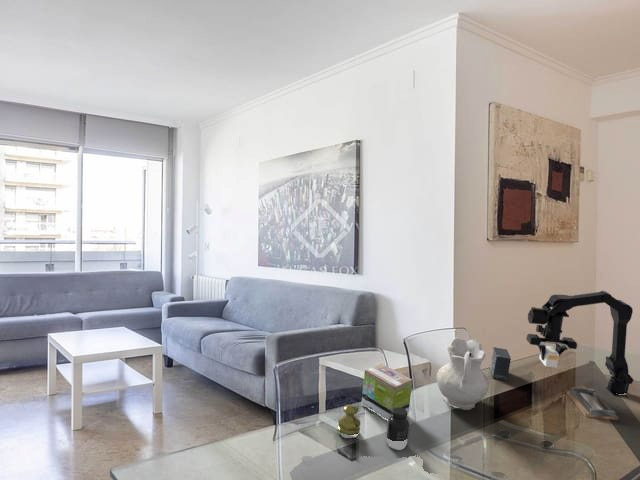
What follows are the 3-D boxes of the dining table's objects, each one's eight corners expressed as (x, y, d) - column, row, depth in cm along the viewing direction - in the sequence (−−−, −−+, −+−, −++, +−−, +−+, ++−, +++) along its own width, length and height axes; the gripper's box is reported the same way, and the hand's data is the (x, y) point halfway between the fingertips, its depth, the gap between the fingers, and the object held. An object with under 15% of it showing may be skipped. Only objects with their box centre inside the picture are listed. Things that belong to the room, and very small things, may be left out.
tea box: (360, 406, 183) (363, 369, 180) (378, 398, 189) (382, 362, 186) (391, 425, 172) (395, 386, 169) (409, 416, 178) (413, 378, 175)
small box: (508, 381, 212) (511, 358, 210) (492, 378, 213) (495, 356, 211) (504, 370, 222) (507, 348, 220) (489, 368, 223) (492, 346, 221)
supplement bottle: (408, 441, 163) (412, 408, 160) (404, 453, 156) (409, 419, 154) (388, 436, 165) (391, 403, 163) (383, 447, 159) (387, 413, 156)
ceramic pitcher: (492, 424, 179) (507, 360, 175) (439, 416, 179) (453, 352, 174) (475, 394, 200) (488, 337, 196) (427, 387, 200) (439, 330, 195)
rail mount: (596, 396, 204) (598, 389, 203) (618, 420, 186) (619, 413, 186) (566, 393, 205) (568, 386, 204) (585, 416, 187) (586, 409, 187)
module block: (549, 359, 213) (552, 346, 211) (556, 367, 205) (559, 354, 203) (539, 358, 213) (541, 345, 212) (545, 366, 205) (547, 353, 204)
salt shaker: (332, 432, 165) (335, 405, 163) (347, 424, 170) (349, 397, 168) (349, 442, 160) (352, 414, 158) (363, 433, 165) (366, 406, 163)
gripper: (569, 320, 213) (563, 354, 216) (525, 316, 214) (520, 350, 217) (580, 330, 202) (574, 365, 205) (533, 325, 203) (527, 361, 206)
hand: (548, 360), depth 209 cm, fingers closed on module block, 4 cm apart
